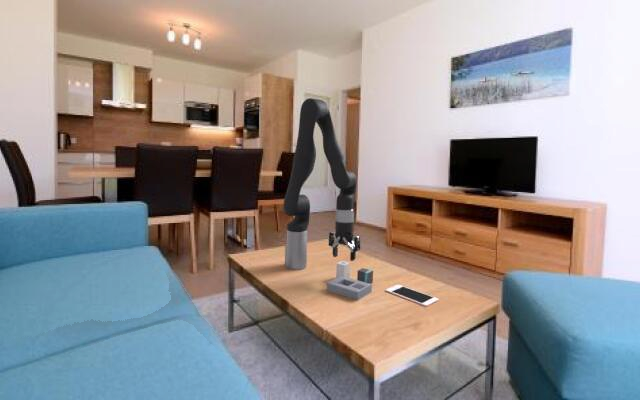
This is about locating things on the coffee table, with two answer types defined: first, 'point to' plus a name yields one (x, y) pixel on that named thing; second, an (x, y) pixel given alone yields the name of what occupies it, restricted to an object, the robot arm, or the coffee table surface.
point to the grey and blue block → (365, 275)
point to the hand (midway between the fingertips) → (343, 258)
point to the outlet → (349, 287)
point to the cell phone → (412, 295)
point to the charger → (342, 269)
